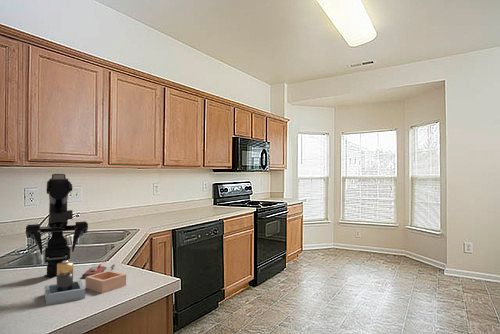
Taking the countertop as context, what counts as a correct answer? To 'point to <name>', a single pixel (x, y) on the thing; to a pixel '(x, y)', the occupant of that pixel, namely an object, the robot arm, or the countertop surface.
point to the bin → (105, 281)
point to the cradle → (64, 293)
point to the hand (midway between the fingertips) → (57, 253)
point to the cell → (64, 276)
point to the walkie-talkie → (96, 270)
